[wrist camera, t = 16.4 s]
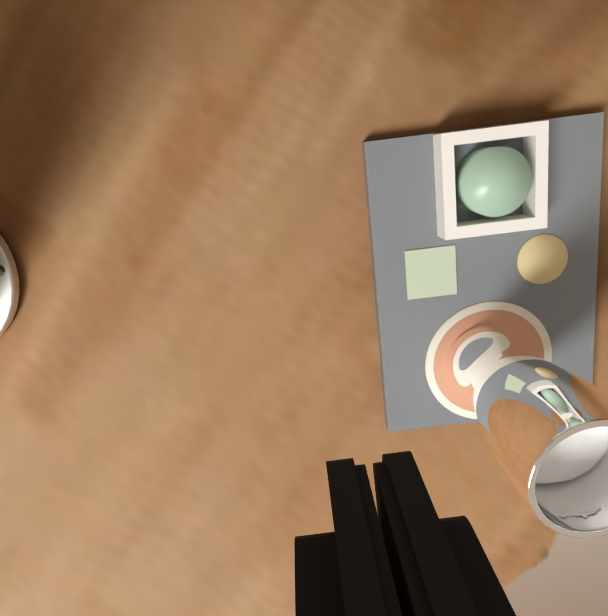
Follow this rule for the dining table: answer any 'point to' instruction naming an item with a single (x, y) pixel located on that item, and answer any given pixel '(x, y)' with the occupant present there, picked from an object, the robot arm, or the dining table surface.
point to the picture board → (481, 258)
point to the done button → (493, 181)
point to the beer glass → (538, 427)
